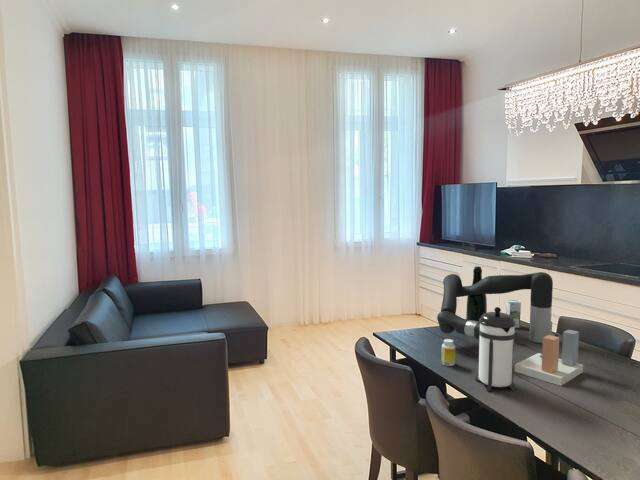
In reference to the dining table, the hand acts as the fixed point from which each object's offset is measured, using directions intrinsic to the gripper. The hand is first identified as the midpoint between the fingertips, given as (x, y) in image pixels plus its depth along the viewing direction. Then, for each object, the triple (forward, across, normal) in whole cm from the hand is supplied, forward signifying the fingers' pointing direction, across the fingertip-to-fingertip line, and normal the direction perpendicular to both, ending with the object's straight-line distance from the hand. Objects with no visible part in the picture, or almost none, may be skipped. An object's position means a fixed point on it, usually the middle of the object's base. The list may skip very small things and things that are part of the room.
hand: (515, 339), depth 185 cm
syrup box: (-29, -53, -12) cm, 62 cm away
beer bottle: (-42, -38, -12) cm, 58 cm away
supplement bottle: (-20, +17, -12) cm, 29 cm away
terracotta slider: (+14, 0, -9) cm, 16 cm away
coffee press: (+2, +21, -12) cm, 25 cm away
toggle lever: (+6, -13, -8) cm, 17 cm away
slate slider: (+16, -13, -9) cm, 22 cm away
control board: (+12, -6, -12) cm, 18 cm away
